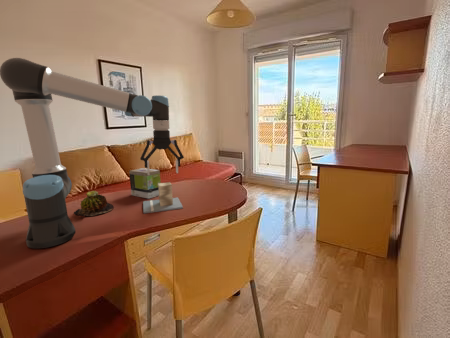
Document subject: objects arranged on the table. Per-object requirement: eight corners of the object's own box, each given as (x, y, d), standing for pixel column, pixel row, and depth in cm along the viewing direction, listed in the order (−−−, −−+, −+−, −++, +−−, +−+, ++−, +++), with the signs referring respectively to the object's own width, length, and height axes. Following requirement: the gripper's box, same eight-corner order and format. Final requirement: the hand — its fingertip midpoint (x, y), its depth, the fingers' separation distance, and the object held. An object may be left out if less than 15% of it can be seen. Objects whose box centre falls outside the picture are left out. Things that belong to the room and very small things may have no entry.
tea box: (162, 194, 139) (160, 169, 137) (148, 199, 131) (146, 172, 128) (144, 191, 147) (142, 167, 145) (130, 195, 139) (128, 170, 136)
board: (143, 213, 111) (143, 211, 111) (143, 202, 126) (143, 201, 125) (182, 208, 117) (182, 206, 116) (178, 198, 131) (177, 197, 131)
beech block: (160, 206, 118) (158, 186, 116) (159, 202, 123) (158, 183, 121) (172, 204, 120) (171, 185, 118) (171, 201, 125) (170, 182, 123)
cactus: (65, 217, 109) (62, 196, 107) (87, 205, 124) (85, 187, 122) (101, 217, 107) (99, 196, 105) (120, 205, 123) (118, 187, 121)
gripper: (133, 129, 107) (135, 176, 111) (189, 129, 115) (189, 173, 119) (133, 129, 114) (136, 173, 118) (186, 129, 122) (187, 170, 126)
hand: (163, 173), depth 118 cm, fingers open, 13 cm apart
